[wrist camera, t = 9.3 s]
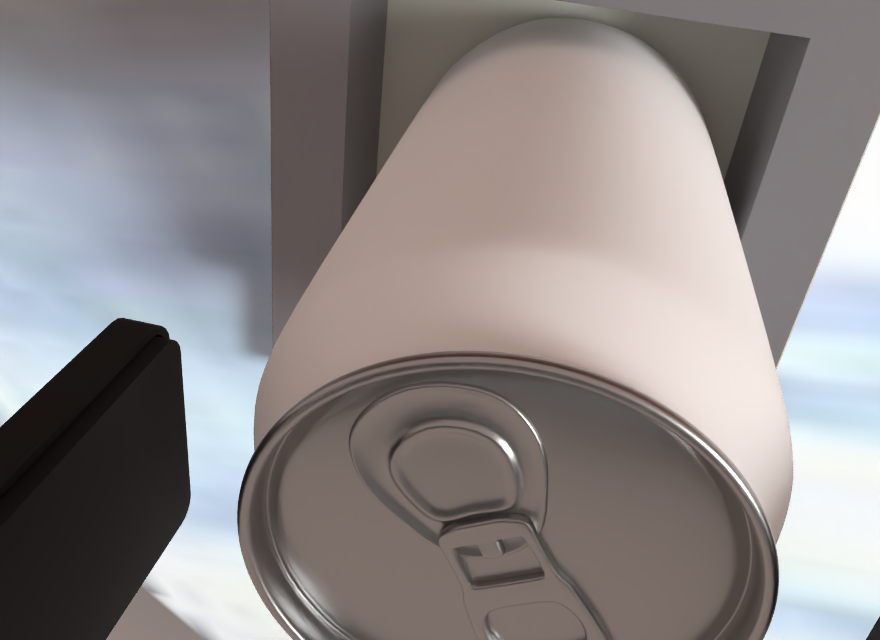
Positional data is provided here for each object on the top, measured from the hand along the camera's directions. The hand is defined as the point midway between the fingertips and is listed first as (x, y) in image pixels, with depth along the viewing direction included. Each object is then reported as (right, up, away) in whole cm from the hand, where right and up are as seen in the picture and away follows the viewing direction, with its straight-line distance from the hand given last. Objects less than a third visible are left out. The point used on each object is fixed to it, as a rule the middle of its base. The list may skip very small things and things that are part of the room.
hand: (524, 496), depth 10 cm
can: (+2, +6, +8) cm, 10 cm away
